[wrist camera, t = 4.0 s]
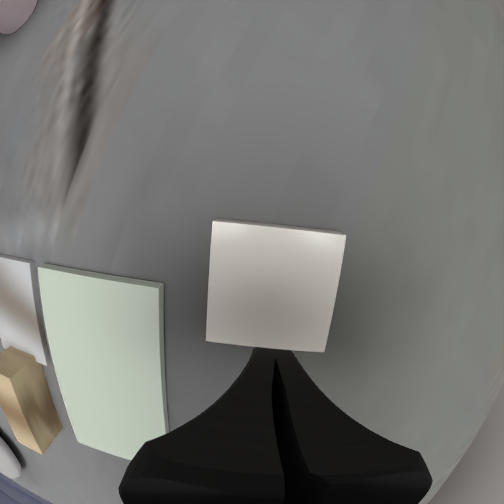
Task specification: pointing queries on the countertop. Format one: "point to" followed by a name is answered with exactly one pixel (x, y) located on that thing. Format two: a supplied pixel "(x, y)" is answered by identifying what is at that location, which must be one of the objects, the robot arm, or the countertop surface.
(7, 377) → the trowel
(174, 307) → the countertop surface
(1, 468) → the flower in vase
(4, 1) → the smoothie
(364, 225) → the countertop surface
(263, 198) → the countertop surface
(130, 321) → the mat
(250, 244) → the tile
